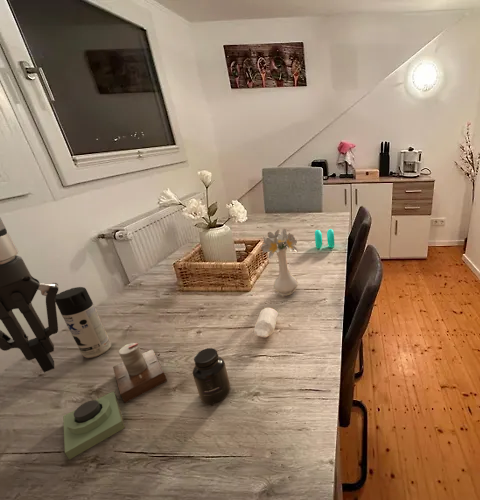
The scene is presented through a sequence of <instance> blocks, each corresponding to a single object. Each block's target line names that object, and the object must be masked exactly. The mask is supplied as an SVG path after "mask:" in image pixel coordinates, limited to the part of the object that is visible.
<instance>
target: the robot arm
mask: <svg viewBox="0 0 480 500" xmlns="http://www.w3.org/2000/svg"><path fill="white" fill-rule="evenodd" d="M18 254H19V250H18V248H17V246H16V245H15V243H14V240H13V239H12V237H11V236H10V233H9V232H8V231H7V228H6V226H5V224H4V223H3V220H2V217H0V321H1V322H2V324H3V326H4V327H5V329H6V331H7V332H8V334H9V335H7V334H6V333H5V332H3V330H1V329H0V350H2V351H6V352H7V351H10V350H11V349H12V350H13V349H19V350H20V351H21V354H22V355H23V356H24V358H25V360H27V361H32V360H36V362H37V364H38V366H39V367H40V368H41V370H42V372H43V373H46V372H49V371H52V370H54V369H55V360H54V358H53V356H52V355H51V353H53V352H55V344H54V343H53V341H52V339H51V336H52V335H55V334H57V333H59V324H58V323H59V322H58V314H57V313H58V312H57V304H56V302H55V297H56V295H57V294H58V292H59V283H58V282H51V283H44V282H40V280H39V279H37V278H35V277H34V276H32V274H31V273H30V270H29V269H28V266H27V265H26V263H25V261H24V259H23V258H22V256H20V255H18ZM38 291H40V295H42V296H44V297H45V307H46V317H47V325H48V326H47V327H45V326H44V324H43V322H42V320H41V318H40V317H39V315H38V313H37V311H36V310H35V308H34V305H33V303H32V302H33V300H34V299H35V297H36V294H37V293H38ZM13 310H18V311H19V312H20V314H22V316H23V318H24V319H25V321H26V323H27V324H28V326H29V328H30V330H31V331H32V333H33V335H34V336H35V337H34V338H31V339H29V335H27V334H26V332H25V330H24V328H23V327H22V325H21V323H20V322H19V320H18V319H17V317H16V315H15V313H14V312H13Z"/></svg>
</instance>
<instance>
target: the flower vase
mask: <svg viewBox="0 0 480 500" xmlns="http://www.w3.org/2000/svg"><path fill="white" fill-rule="evenodd" d="M262 239H263V241H262V243H263V244H262V245H261V247H260V249H261V251H262V253H261V256H262V257H263V256H264V254H265V253H268V258H269V259H272V258H273V256H274V254H275V253H276V256H277V261H278V276H277V278H276V279H275V280H274V282H273V290H274V291H275V292H277V293H278V294H279V295H280V296H283V297H286V296H287V297H288V296H291V295H293V294H294V293H295V290H297V288H298V285H299V282H298V280H297V278H296V277H295V276H293V275H292V274H291V273H290V270H289V267H288V261H287V250H289V251H290V253H292V252H293V251H294V252H296V253H298V252H299V251H298V248H297V247H296V246H297V243H298V241H297V239H296V238H295V237H294V234H291V233H290V232H288V234H287V229H286V228H282V229H281V233H280V229H277V230H275V232H274V233H273V232H272V231H268V232H267V237H266V236H265V235H263V237H262Z"/></svg>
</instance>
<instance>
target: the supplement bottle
mask: <svg viewBox="0 0 480 500" xmlns="http://www.w3.org/2000/svg"><path fill="white" fill-rule="evenodd" d="M193 360H194V361H193V362H194V367H193V370H192V377H193V380H194V383H195V386H196V390H197V394H198V396H199V399H200V401H201V402H202V403H203V404H206V405H214V404H217V403H220V402H221V401H223V400H224V399H225V398H226V397H227V396H228V395H229V393H230V392H231V391H230V390H231V384H230V383H231V382H230V379H229V375H228V369H227V366H226V362H225V360H224V358H222V357H221V356H219V354H218V351H217V349H215V348H213V347H210V348H209V347H208V348H204V349H202V350H200V351H198V352H197V353H196V354H195V356H194V358H193Z"/></svg>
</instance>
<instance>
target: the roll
mask: <svg viewBox="0 0 480 500" xmlns="http://www.w3.org/2000/svg"><path fill="white" fill-rule="evenodd" d="M278 317H279V313H278V310H276V309H275V308H272V307H265V308H262V309H261V310H260V312H259V315H258V317H257V320H256V322H255V325H254V329H253V334H254V335H255V336H256V337H261V338H268V337H269V336H271V335H273V334H274V333H275V329H276V324H277V322H278Z"/></svg>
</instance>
